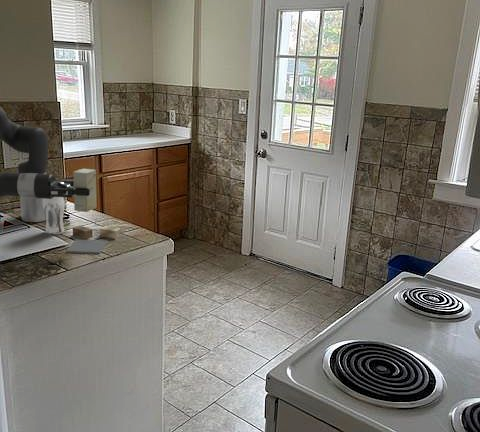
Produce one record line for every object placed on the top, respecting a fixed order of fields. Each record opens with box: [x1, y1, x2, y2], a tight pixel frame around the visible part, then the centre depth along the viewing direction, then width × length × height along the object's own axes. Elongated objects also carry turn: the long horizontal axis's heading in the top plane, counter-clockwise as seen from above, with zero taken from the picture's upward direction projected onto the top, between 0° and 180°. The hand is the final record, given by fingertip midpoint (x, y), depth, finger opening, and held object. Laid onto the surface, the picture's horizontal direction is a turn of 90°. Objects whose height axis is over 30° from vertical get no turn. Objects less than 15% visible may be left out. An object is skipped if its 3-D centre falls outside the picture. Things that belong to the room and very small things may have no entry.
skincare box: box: [72, 168, 97, 213], centre depth 147 cm, size 6×4×12 cm
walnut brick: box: [72, 225, 93, 240], centre depth 162 cm, size 6×3×3 cm, turn 61°
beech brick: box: [99, 225, 122, 240], centre depth 163 cm, size 6×3×3 cm, turn 75°
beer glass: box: [42, 197, 66, 236], centre depth 162 cm, size 7×7×15 cm
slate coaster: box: [66, 239, 107, 255], centre depth 153 cm, size 10×10×1 cm
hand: (92, 189), depth 147 cm, fingers closed on skincare box, 7 cm apart
